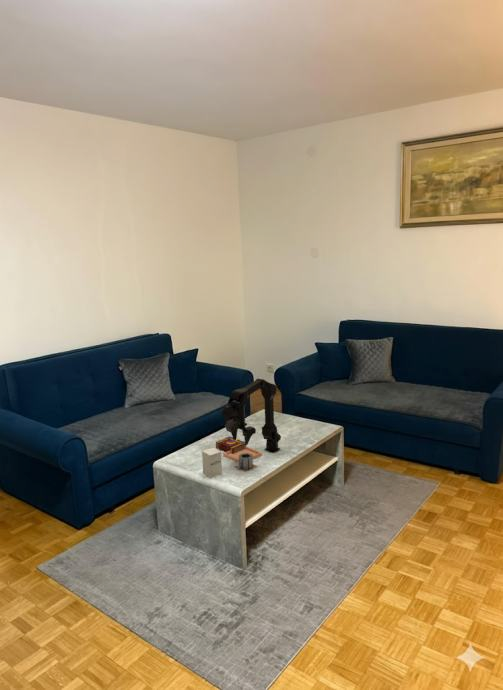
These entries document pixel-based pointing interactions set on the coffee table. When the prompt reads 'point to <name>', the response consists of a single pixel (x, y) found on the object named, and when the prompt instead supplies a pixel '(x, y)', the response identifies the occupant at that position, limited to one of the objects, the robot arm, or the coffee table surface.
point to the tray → (236, 455)
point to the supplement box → (211, 462)
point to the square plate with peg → (248, 469)
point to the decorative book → (230, 445)
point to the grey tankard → (245, 461)
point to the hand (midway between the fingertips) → (240, 442)
